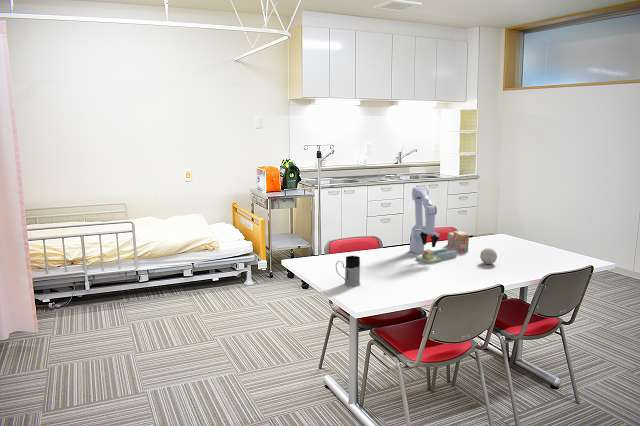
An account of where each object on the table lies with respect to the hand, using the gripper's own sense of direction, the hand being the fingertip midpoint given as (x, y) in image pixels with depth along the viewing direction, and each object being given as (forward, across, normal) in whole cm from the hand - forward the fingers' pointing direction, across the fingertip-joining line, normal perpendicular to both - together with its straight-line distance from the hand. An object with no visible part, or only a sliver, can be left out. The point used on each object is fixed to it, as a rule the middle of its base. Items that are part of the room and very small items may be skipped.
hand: (429, 245), depth 329 cm
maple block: (+8, 0, -1) cm, 8 cm away
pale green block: (+10, 0, +8) cm, 13 cm away
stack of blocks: (+10, -12, +42) cm, 45 cm away
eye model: (+10, +26, +26) cm, 38 cm away
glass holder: (+10, +9, -73) cm, 74 cm away
